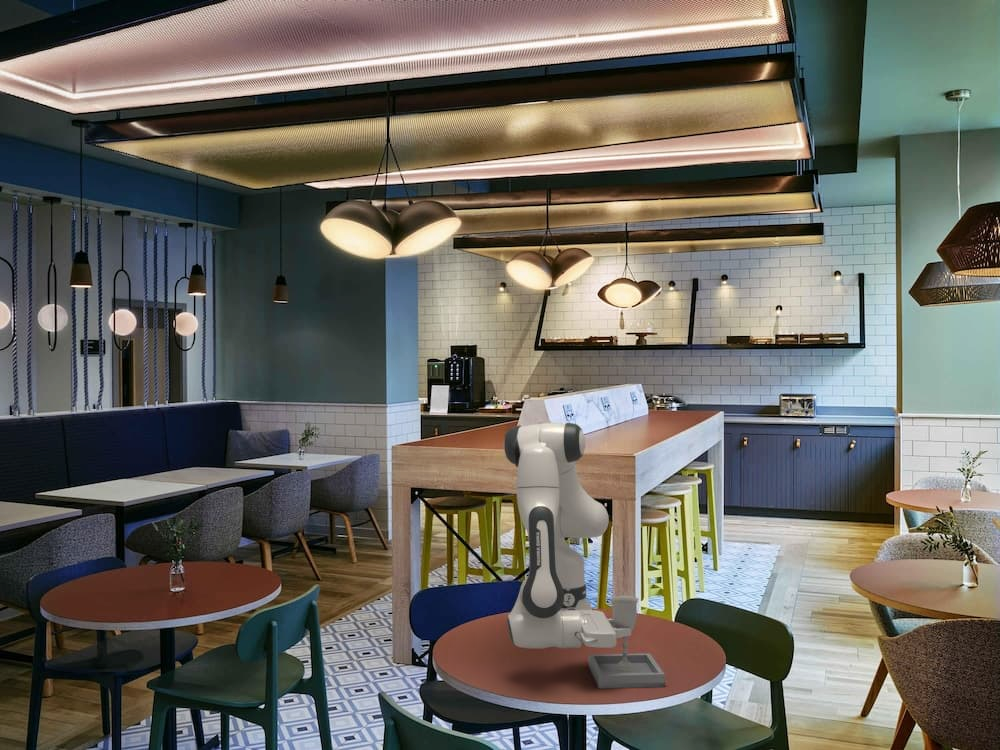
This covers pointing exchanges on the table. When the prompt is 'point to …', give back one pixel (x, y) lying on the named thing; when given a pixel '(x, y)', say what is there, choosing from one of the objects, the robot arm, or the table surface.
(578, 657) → the table surface
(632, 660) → the tray
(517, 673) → the table surface
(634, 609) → the chalice
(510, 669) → the table surface
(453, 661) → the table surface
